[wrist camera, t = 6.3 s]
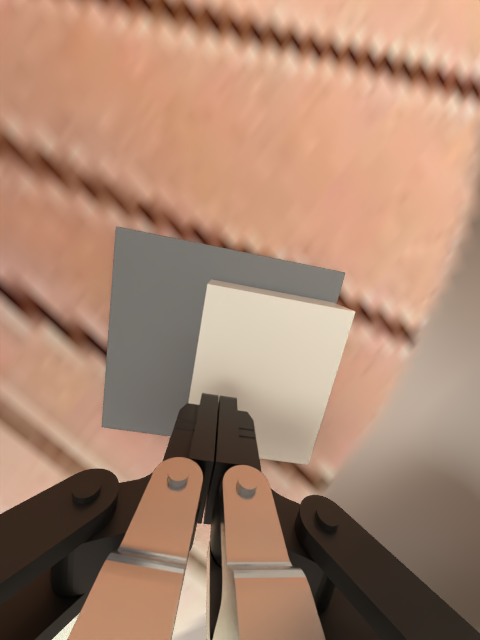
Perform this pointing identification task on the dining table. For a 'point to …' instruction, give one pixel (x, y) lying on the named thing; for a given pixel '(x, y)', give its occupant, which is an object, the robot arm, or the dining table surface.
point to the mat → (177, 318)
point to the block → (271, 362)
